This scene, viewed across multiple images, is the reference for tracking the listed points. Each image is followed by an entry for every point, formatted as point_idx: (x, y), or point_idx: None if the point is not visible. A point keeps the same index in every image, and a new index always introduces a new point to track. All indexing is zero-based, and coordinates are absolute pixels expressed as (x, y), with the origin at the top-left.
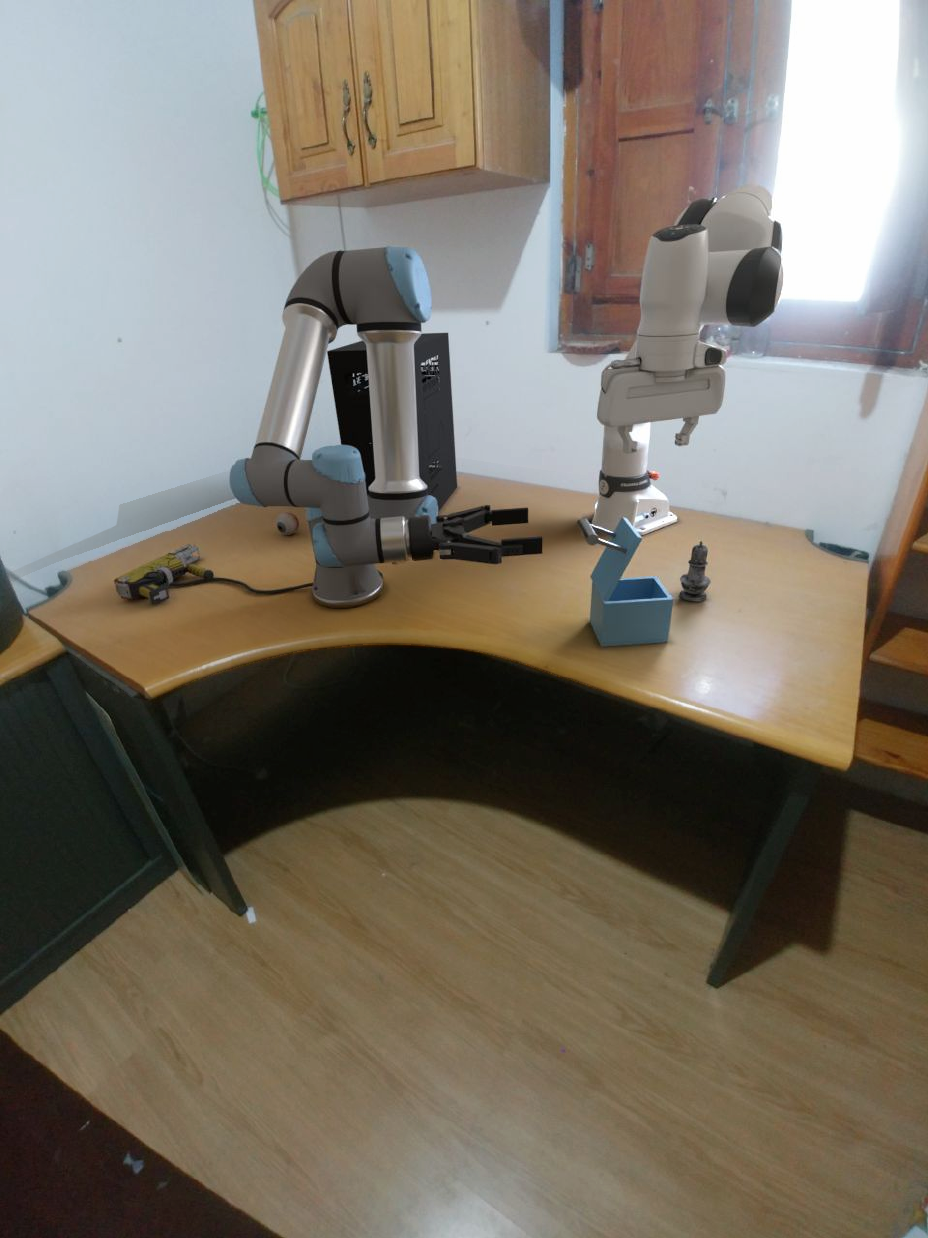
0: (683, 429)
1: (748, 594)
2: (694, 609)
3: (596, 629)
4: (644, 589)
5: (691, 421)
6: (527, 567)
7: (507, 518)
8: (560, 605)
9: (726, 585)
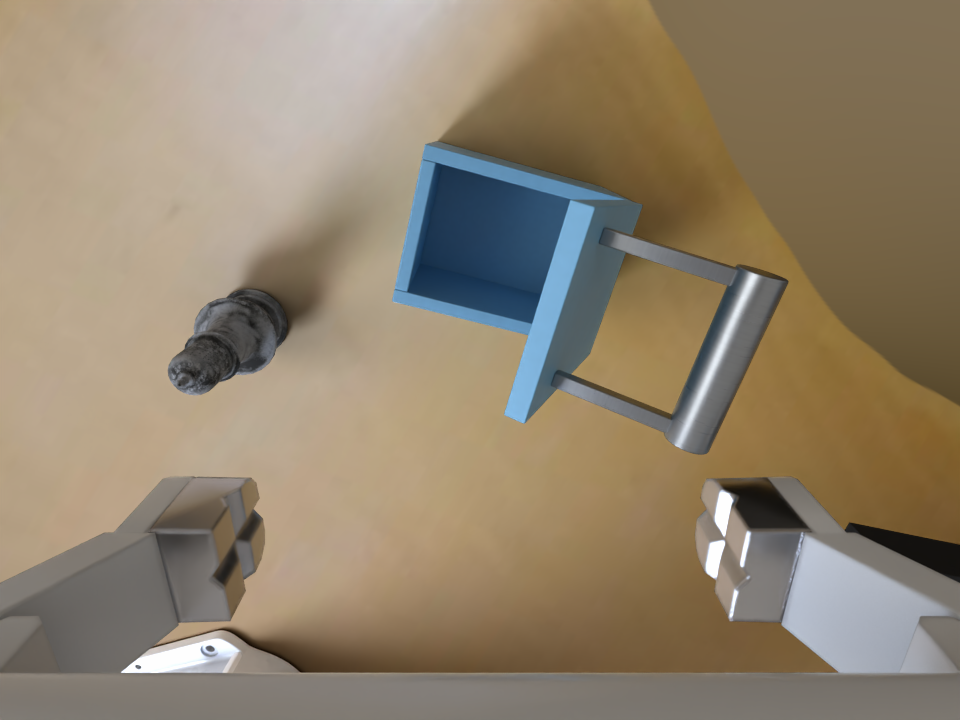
0: (136, 631)
1: (107, 276)
2: (284, 261)
3: None
4: (434, 288)
5: (19, 637)
6: (563, 584)
7: (939, 553)
8: None
9: (140, 338)
